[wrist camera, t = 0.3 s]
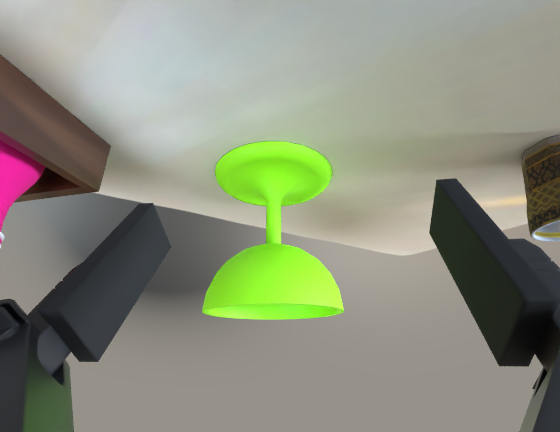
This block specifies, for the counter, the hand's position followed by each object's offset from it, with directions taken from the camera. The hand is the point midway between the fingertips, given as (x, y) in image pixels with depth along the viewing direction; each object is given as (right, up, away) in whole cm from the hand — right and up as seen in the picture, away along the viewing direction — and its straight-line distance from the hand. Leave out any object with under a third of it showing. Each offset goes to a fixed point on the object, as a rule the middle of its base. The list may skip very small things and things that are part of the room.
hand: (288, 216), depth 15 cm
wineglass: (-1, +6, +28) cm, 29 cm away
